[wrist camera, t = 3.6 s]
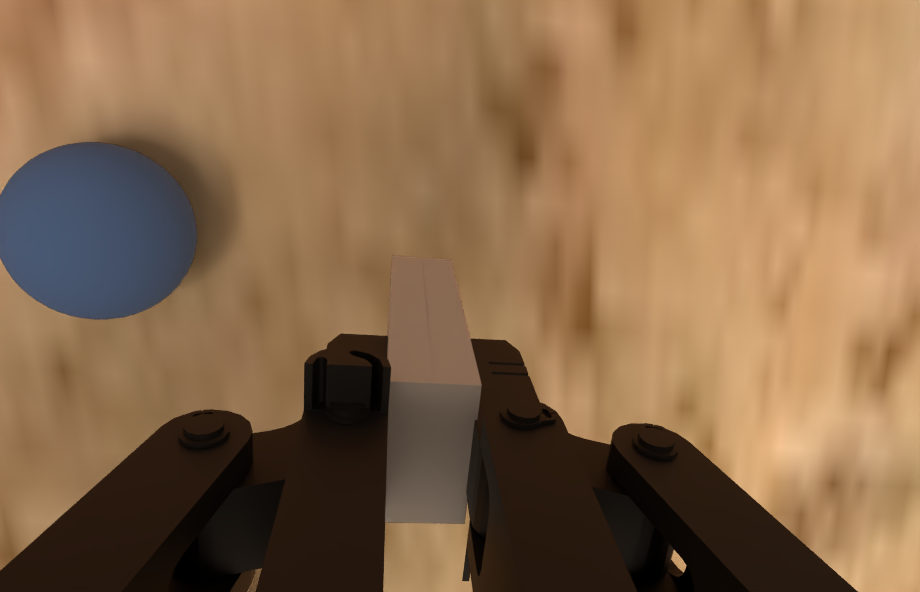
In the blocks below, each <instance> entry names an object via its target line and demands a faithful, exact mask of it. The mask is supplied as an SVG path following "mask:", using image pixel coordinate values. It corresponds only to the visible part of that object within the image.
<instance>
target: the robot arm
mask: <svg viewBox="0 0 920 592" xmlns="http://www.w3.org/2000/svg"><path fill="white" fill-rule="evenodd" d="M467 502H468V508H469V515H470V524H469V532H468V540H467V548H466V555H465V563H464V571H463V579H462V581H469V577H470V573H471V581H472V589H473V592H858V591H856V590H855V589H854V588H853V587H852V586H851V585H850V584H849V583H847V582H846V581H845V580H844V579H843V578H842V577H841V576H840V575H838V574H837V573H836V572H835V571H834V570H833V569H832V568H831V567H829V566H828V565H827V564H826V563H825V562H824V561H823V560H822V559H820V558H819V557H818V556H817V555H816V554H815V553H814V552H813V551H811V550H810V549H809V548H808V547H807V546H806V545H805V544H803V543H802V542H801V541H800V540H799V539H798V538H797V537H796V536H794V535H793V534H792V533H791V532H790V531H789V530H788V529H787V528H785V527H784V526H783V525H782V524H781V523H780V522H779V521H778V520H776V519H775V518H774V517H773V516H772V515H771V514H770V513H769V512H767V511H766V510H765V509H764V508H763V507H762V506H761V505H760V504H758V503H757V502H756V501H755V500H754V499H753V498H752V497H751V496H749V495H748V494H747V493H746V492H745V491H744V490H743V489H742V488H740V487H739V486H738V485H737V484H736V483H735V482H734V481H733V480H731V479H730V478H729V477H728V476H727V475H726V474H725V473H724V472H722V471H721V470H720V469H719V468H718V467H717V466H716V465H715V464H713V463H712V462H711V461H710V460H709V459H708V458H707V457H706V456H704V455H703V454H702V453H701V452H700V451H699V450H698V449H697V448H695V447H694V446H693V445H692V444H691V443H690V442H689V441H687V440H686V439H684V438H683V437H681V436H680V435H678V434H677V433H674V432H672V431H670V430H667V429H665V428H664V427H661V426H658V425H653V424H647V423H644V424H632V423H631V424H627V425H624V426H620V427H619V428H618V429H616V430H615V431H614V432H613V435H612V440H611V444H610V445H609V444H605V443H601V442H596V441H592V440H587V439H584V438H580V437H577V436H574V435H571V434H569V433H568V431H567V429H566V427H565V425H564V422H563V420H562V418H561V417H560V416H559V415H558V413H557V412H556V411H555V410H553V409H552V408H550V407H548V406H547V405H545V404H543V403H540V402H539V399H538V397H537V394H536V392H535V389H534V387H533V384H532V382H531V379H530V377H529V376H528V372H527V369H526V367H525V366H524V362H523V359H522V357H521V354H520V352H519V351H518V350H517V349H516V348H515V347H513V346H512V345H511V344H510V343H508V342H507V341H506V340H487V339H470V335H469V331H468V327H467V323H466V319H465V315H464V311H463V306H462V302H461V298H460V294H459V290H458V286H457V282H456V278H455V274H454V269H453V265H452V261H451V259H439V258H424V257H409V256H394V255H392V266H391V282H390V298H389V314H388V330H387V336H377V335H357V334H340V335H338V336H337V337H336V338H334V339H333V340H332V341H331V342H329V343H328V345H327V349H325V350H321V351H319V352H317V353H315V354H313V355H311V356H310V357H309V358H308V359H307V361H306V362H305V363H304V412H303V416H302V419H301V420H299V421H298V422H296V423H294V424H292V425H289V426H286V427H284V428H280V429H276V430H271V431H265V432H259V433H252V428H251V425H250V422H249V421H248V420H246V419H245V418H244V417H243V416H241V415H239V414H236V413H232V412H229V411H222V410H204V411H201V410H200V411H194V412H191V413H188V414H185V415H182V416H179V417H176V418H174V419H172V420H171V421H169V422H168V423H166V424H165V425H163V426H162V427H160V428H159V429H158V430H157V431H156V432H155V433H154V434H153V435H151V436H150V437H149V438H148V439H147V440H146V441H145V442H144V443H143V444H141V445H140V446H139V447H138V448H137V449H136V450H135V451H134V452H132V453H131V454H130V455H129V456H128V457H127V458H126V459H125V460H124V461H122V462H121V463H120V464H119V465H118V466H117V467H116V468H115V469H113V470H112V471H111V472H110V473H109V474H108V475H107V476H106V477H105V478H103V479H102V480H101V481H100V482H99V483H98V484H97V485H96V486H95V487H93V488H92V489H91V490H90V491H89V492H88V493H87V494H86V495H84V496H83V497H82V498H81V499H80V500H79V501H78V502H77V503H76V504H74V505H73V506H72V507H71V508H70V509H69V510H68V511H67V512H65V513H64V514H63V515H62V516H61V517H60V518H59V519H58V520H57V521H55V522H54V523H53V524H52V525H51V526H50V527H49V528H48V529H46V530H45V531H44V532H43V533H42V534H41V535H40V536H39V537H38V538H36V539H35V540H34V541H33V542H32V543H31V544H30V545H29V546H28V547H26V548H25V549H24V550H23V551H22V552H21V553H20V554H19V555H17V556H16V557H15V558H14V559H13V560H12V561H11V562H10V563H9V564H7V565H6V566H5V567H4V568H3V569H2V570H1V571H0V592H246V591H247V590H248V588H249V586H250V585H251V583H252V580H253V577H254V574H255V569H259V568H262V570H261V574H260V578H259V581H258V585H257V589H256V592H383V575H384V541H385V522H388V523H445V524H465V516H466V508H467ZM673 550H675V551H676V552H677V553H678V554H679V555H680V557H681V558H682V559H683V561H684V562H685V564H686V565H687V566H686V569H685V571H684V573H683V572H682V571H681V570H680V569H679V568H678V567H677V566H676V565H675V564H674V563H673V561H672V560H671V558H672V554H673Z"/></svg>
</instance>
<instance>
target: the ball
mask: <svg viewBox="0 0 920 592" xmlns="http://www.w3.org/2000/svg"><path fill="white" fill-rule="evenodd" d="M196 244H197V228H196V221H195V217H194V213H193V209H192V207H191V204H190V202H189V199H188V198H187V196H186V194H185V192H184V191H183V189H182V188H181V186H180V185H179V184H178V182H177V181H176V180H175V179H174V178H173V177H172V176H171V175H170V174H169V173H168V172H167V171H166V170H165V169H164V168H163V167H161V166H160V165H159V164H157V163H156V162H154V161H153V160H151V159H150V158H148V157H146V156H144V155H142V154H140V153H138V152H136V151H133V150H131V149H128V148H125V147H121V146H118V145H113V144H106V143H99V142H83V143H74V144H67V145H63V146H59V147H56V148H53V149H51V150H48V151H46V152H44V153H41V154H39V155H38V156H36V157H34V158H33V159H31V160H29V161H28V162H27V163H26V164H25V165H23V166H22V167H21V168H20V169H19V170H18V171H16V173H15V174H14V175H13V176H12V177H11V178H10V180H9V181H8V183H7V184H6V186H5V188H4V189H3V191H2V193H1V195H0V258H1V260H2V262H3V264H4V266H5V268H6V270H7V271H8V273H9V274H10V276H11V277H12V278H13V280H14V281H15V282H16V283H17V284H18V285H19V286H20V287H21V288H22V289H23V290H24V291H25V292H26V293H27V294H29V295H30V296H31V297H33V298H34V299H35V300H37V301H38V302H40V303H42V304H44V305H45V306H47V307H49V308H51V309H53V310H56V311H58V312H61V313H64V314H67V315H70V316H75V317H79V318H87V319H114V318H121V317H126V316H130V315H134V314H137V313H139V312H142V311H144V310H146V309H149V308H151V307H152V306H154V305H156V304H158V303H159V302H161V301H162V300H163V299H165V298H166V297H167V296H168V295H170V294H171V293H172V292H173V291H174V290H175V289H176V288H177V287H178V285H179V284H180V283H181V281H182V280H183V278H184V277H185V276H186V274H187V272H188V270H189V268H190V266H191V264H192V261H193V258H194V254H195V250H196Z"/></svg>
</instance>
